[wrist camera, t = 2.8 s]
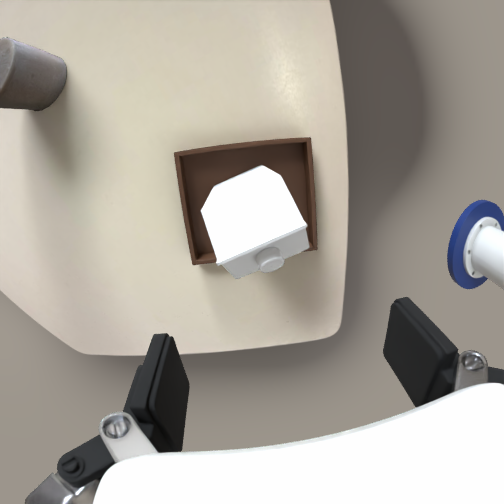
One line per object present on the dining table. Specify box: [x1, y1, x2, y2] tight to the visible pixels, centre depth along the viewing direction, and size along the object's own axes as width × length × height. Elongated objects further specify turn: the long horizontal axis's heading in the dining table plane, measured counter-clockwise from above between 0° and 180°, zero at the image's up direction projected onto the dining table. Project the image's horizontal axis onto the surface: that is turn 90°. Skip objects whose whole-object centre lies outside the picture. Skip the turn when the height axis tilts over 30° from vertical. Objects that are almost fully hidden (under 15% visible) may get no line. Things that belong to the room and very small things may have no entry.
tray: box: [174, 137, 317, 265], centre depth 37 cm, size 17×15×3 cm
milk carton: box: [201, 165, 310, 279], centre depth 29 cm, size 7×7×19 cm
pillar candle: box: [0, 37, 67, 111], centre depth 22 cm, size 10×10×15 cm
